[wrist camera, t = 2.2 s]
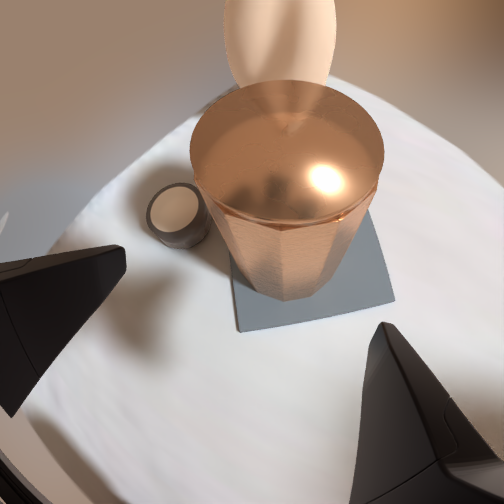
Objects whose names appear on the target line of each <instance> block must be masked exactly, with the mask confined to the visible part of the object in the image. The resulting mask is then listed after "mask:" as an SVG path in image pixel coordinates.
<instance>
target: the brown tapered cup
mask: <svg viewBox="0 0 504 504" xmlns="http://www.w3.org/2000/svg"><path fill="white" fill-rule="evenodd" d="M190 160H191V163H192V167H193V170H194V181H195V183H196V185H197V187H198V189H199V191H200V193H201V195H202V197H203V199H204V201H205V203H206V205H207V207H208V209H209V211H210V213H211V215H212V217H213V219H214V221H215V223H216V225H217V227H218V229H219V231H220V233H221V235H222V237H223V239H224V241H225V242H226V244H227V246H228V248H229V250H230V252H231V254H232V256H233V258H234V260H235V262H236V264H237V266H238V268H239V270H240V272H241V273H242V274H243V276H244V277H245V278H246V279H247V280H248V282H249V283H250V284H251V285H252V286H253V288H254V289H255V290H256V291H257V293H260V294H263V295H266V296H268V297H271V298H274V299H277V300H280V301H282V302H286V301H291V300H297V299H302V298H307V297H311V296H312V295H314V294H315V293H316V292H317V291H318V290H319V289H320V288H322V287H323V286H324V285H325V284H326V283H327V282H328V281H330V280H331V279H332V277H333V275H334V273H335V271H336V270H337V268H338V266H339V264H340V262H341V260H342V258H343V257H344V255H345V253H346V251H347V249H348V247H349V245H350V243H351V241H352V240H353V238H354V236H355V234H356V232H357V230H358V228H359V226H360V224H361V222H362V220H363V218H364V216H365V214H366V212H367V209H368V207H369V205H370V203H371V201H372V199H373V197H374V195H375V193H376V190H377V184H378V179H379V174H380V172H381V170H382V166H383V162H384V144H383V139H382V136H381V133H380V131H379V129H378V127H377V125H376V123H375V122H374V120H373V119H372V117H371V116H370V115H369V114H368V113H367V112H366V110H365V109H364V108H362V107H361V106H360V105H359V104H358V103H357V102H355V101H354V100H352V99H351V98H350V97H348V96H346V95H344V94H343V93H341V92H339V91H337V90H334V89H332V88H329V87H327V86H324V85H320V84H316V83H312V82H307V81H300V80H272V81H265V82H260V83H255V84H252V85H248V86H245V87H243V88H240V89H238V90H235V91H233V92H231V93H229V94H228V95H226V96H224V97H223V98H221V99H220V100H218V101H217V102H216V103H214V104H213V105H212V106H211V107H210V108H209V109H208V110H207V111H206V112H205V113H204V114H203V116H202V117H201V118H200V120H199V121H198V123H197V125H196V127H195V129H194V131H193V133H192V137H191V141H190Z"/></svg>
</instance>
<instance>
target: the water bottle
mask: <svg viewBox="0 0 504 504" xmlns="http://www.w3.org/2000/svg"><path fill="white" fill-rule="evenodd" d="M224 36H225V45H226V51H227V58H228V62H229V65H230V69H231V71H232V74H233V76H234V79H235V81H236V82H237V84H238V85H239V87H240V88H243V87H245V86H248V85H252V84H255V83H260V82H265V81H272V80H300V81H307V82H312V83H316V84H320V85H324V86H326V80H327V77H328V73H329V69H330V66H331V62H332V57H333V52H334V47H335V39H336V14H335V5H334V0H226V1H225V11H224Z"/></svg>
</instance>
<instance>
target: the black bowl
mask: <svg viewBox="0 0 504 504" xmlns="http://www.w3.org/2000/svg"><path fill="white" fill-rule="evenodd" d="M146 219H147V224H148V226H149V228H150V229H151V230H152V231H153V232H154V233H155V234H156V235H157V237H158V238H159V239H160V240H161V241H162V242H163V243H165V244H166V245H167V246H169V247H171V248H174V249H185V248H189V247H192V246H194V245H196V244H197V243H198V242H200V241H201V240H202V239H203V238H204V237H205V235H206V234H207V232H208V230H209V228H210V225H211V213H210V211H209V209H208V207H207V205H206V203H205V201H204V199H203V197H202V195H201V193H200V191H199V190H198V189H197V188H196V187H194V186H193V185H191V184H187V183H176V184H172V185H169V186H167V187H165V188H163V189H162V190H160V191H159V192H158V193H157V194H156V195H155V196H154V197H153V198H152V200H151V201H150V203H149V205H148V208H147V213H146Z"/></svg>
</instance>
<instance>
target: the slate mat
mask: <svg viewBox="0 0 504 504" xmlns="http://www.w3.org/2000/svg"><path fill="white" fill-rule="evenodd" d="M229 253H230V261H231V269H232V277H233V285H234V293H235V301H236V308H237V316H238V323H239V330H240V333H241V332H247V331H254V330H261V329H267V328H273V327H279V326H285V325H290V324H296V323H301V322H306V321H311V320H316V319H321V318H326V317H331V316H336V315H340V314H345V313H349V312H354V311H358V310H362V309H366V308H371V307H375V306H379V305H383V304H386V303H390V302H394V301H395V297H394V293H393V289H392V286H391V282H390V278H389V274H388V271H387V267H386V264H385V260H384V257H383V253H382V250H381V247H380V244H379V240H378V237H377V234H376V231H375V228H374V225H373V222H372V219H371V216H370V214H369V211H368V209H367V212H366V214H365V216H364V218H363V220H362V222H361V224H360V226H359V228H358V230H357V232H356V234H355V236H354V238H353V240H352V241H351V243H350V245H349V247H348V249H347V251H346V253H345V255H344V257H343V258H342V260H341V262H340V264H339V266H338V268H337V270H336V271H335V273H334V275H333V277H332V279H331V280H330V281H328V282H327V283H326V284H325V285H324V286H323V287H322V288H320V289H319V290H318V291H317V292H316V293H315V294H314V295H312V296H311V297H307V298H302V299H297V300H291V301H286V302H282V301H280V300H277V299H274V298H271V297H268V296H266V295H263V294H260V293H257V291H256V290H255V289H254V288H253V286H252V285H251V284H250V283H249V282H248V280H247V279H246V278H245V277H244V276H243V274H242V273H241V272H240V270H239V268H238V266H237V264H236V262H235V260H234V258H233V256H232V254H231V252H230V250H229Z"/></svg>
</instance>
